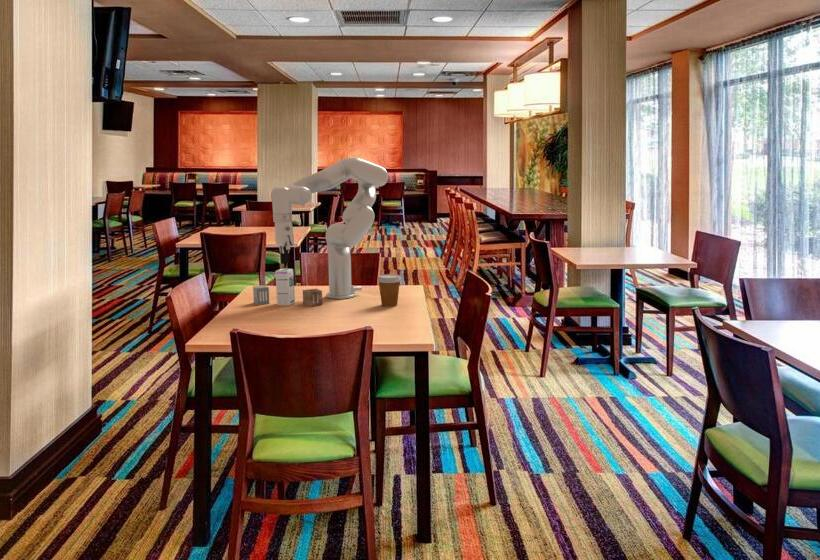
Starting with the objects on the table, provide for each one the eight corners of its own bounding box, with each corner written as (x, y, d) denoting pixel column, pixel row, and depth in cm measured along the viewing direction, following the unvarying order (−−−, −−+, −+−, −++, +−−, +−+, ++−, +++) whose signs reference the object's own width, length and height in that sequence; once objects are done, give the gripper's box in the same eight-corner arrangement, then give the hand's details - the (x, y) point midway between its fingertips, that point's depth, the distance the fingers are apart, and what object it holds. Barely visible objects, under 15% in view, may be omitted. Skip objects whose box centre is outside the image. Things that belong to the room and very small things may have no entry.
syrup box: (290, 305, 294) (288, 270, 292) (276, 305, 296) (275, 270, 293) (295, 303, 300) (293, 268, 297) (281, 302, 301) (280, 268, 299)
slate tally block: (265, 301, 303) (264, 285, 302) (269, 304, 299) (268, 287, 297) (253, 303, 301) (253, 286, 300) (257, 305, 296) (257, 288, 295)
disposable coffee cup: (398, 307, 288) (398, 278, 286) (375, 307, 290) (374, 277, 288) (403, 303, 297) (403, 274, 295) (380, 302, 299) (380, 273, 297)
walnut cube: (316, 302, 300) (316, 288, 299) (322, 305, 295) (322, 291, 294) (303, 304, 297) (302, 290, 296) (309, 307, 292) (308, 292, 291)
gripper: (298, 218, 287) (300, 264, 291) (285, 216, 300) (287, 259, 303) (280, 219, 284) (282, 266, 287) (267, 217, 296) (270, 261, 300)
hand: (285, 262), depth 295 cm, fingers closed
